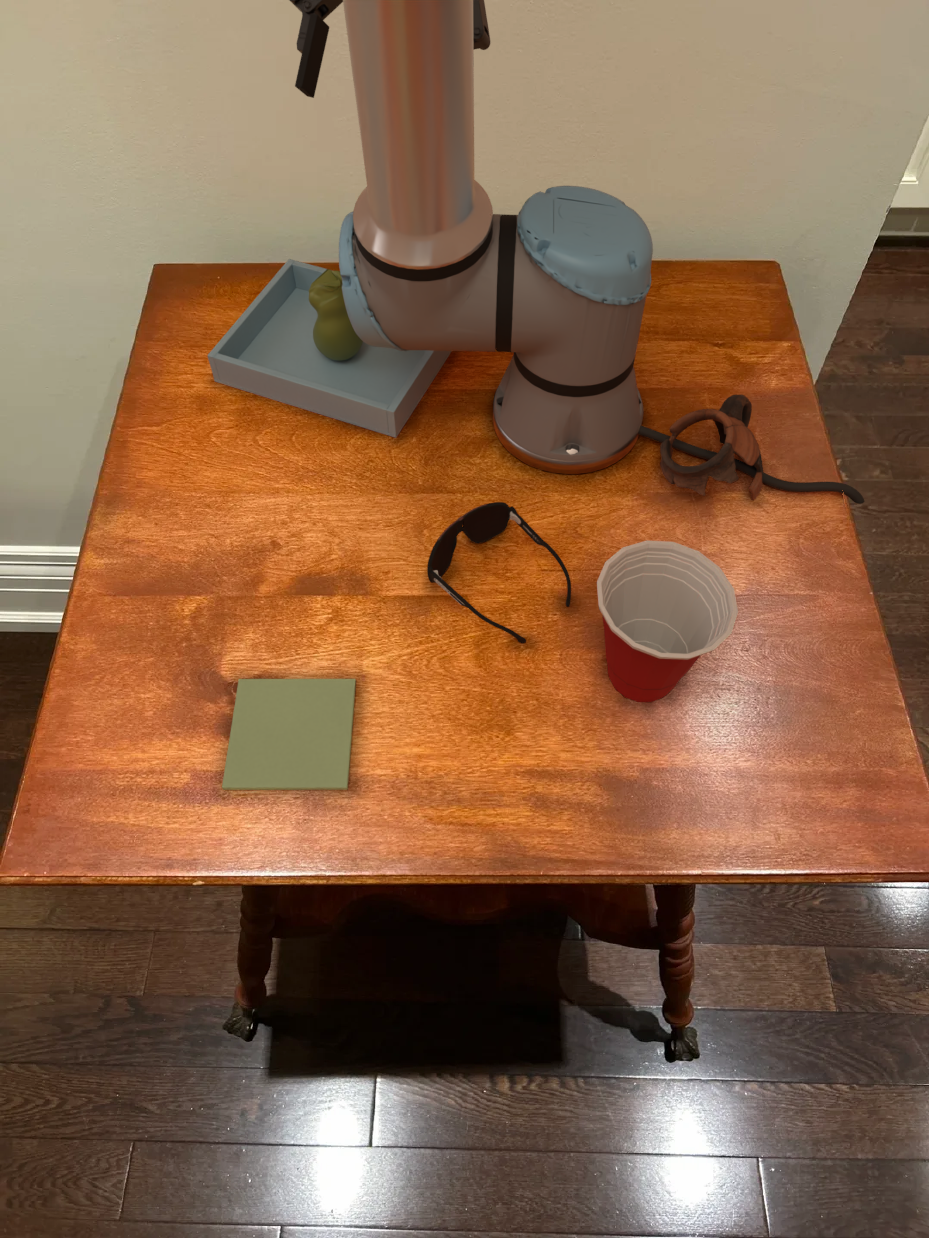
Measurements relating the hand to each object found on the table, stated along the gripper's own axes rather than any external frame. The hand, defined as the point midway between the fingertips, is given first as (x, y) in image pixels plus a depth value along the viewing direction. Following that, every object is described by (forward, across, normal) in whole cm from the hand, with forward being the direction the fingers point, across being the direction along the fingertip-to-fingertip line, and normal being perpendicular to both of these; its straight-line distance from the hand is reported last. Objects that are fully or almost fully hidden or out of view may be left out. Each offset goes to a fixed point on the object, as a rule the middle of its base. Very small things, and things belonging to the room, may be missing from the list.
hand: (366, 107), depth 92 cm
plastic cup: (+41, -42, +11) cm, 60 cm away
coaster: (+53, -17, +23) cm, 60 cm away
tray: (+23, 0, -8) cm, 24 cm away
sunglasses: (+39, -28, +8) cm, 48 cm away
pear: (+23, 0, -8) cm, 24 cm away
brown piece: (+24, -42, -7) cm, 49 cm away
